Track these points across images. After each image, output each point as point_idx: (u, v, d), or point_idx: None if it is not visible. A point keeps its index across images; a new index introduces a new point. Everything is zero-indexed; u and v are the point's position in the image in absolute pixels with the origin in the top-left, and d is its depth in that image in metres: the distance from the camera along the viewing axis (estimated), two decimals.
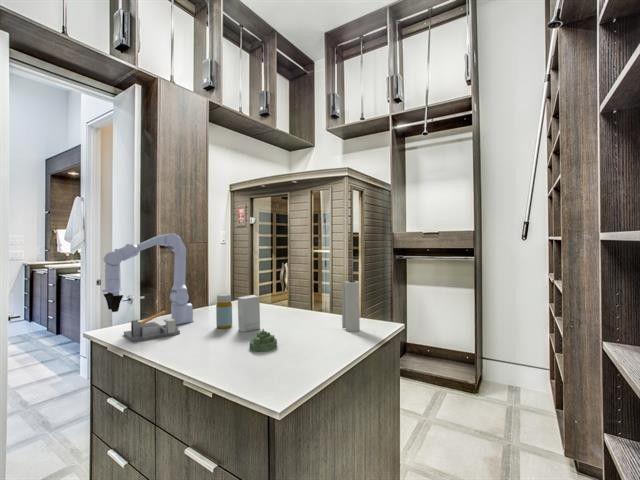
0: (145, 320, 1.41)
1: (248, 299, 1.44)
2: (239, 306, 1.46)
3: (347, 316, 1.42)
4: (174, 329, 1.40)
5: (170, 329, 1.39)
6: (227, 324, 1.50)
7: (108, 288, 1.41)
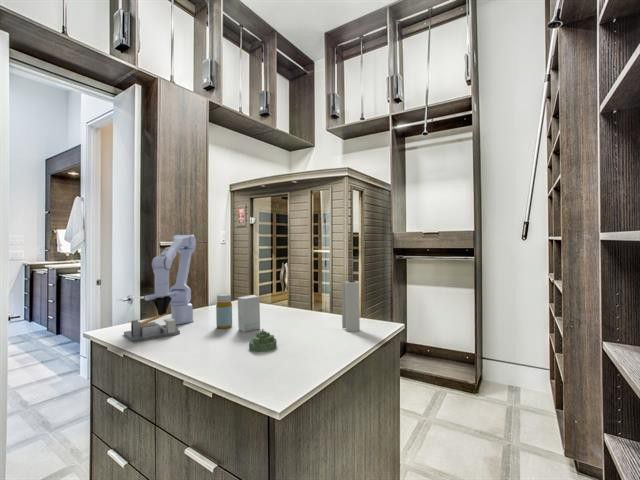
0: (145, 321, 1.41)
1: (248, 299, 1.44)
2: (239, 306, 1.46)
3: (347, 316, 1.42)
4: (174, 329, 1.40)
5: (170, 329, 1.39)
6: (227, 324, 1.50)
7: None
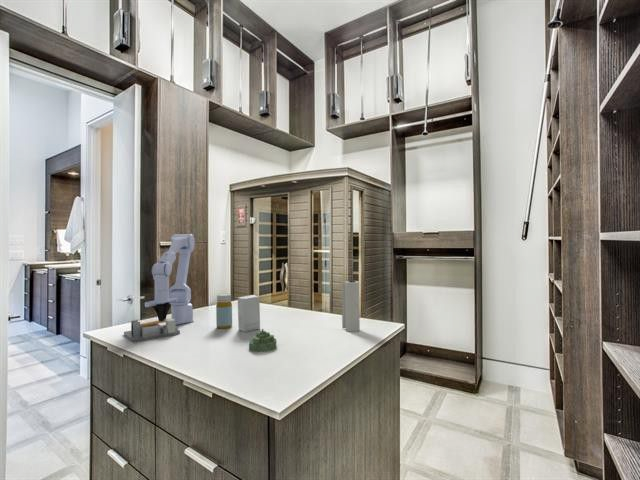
0: (146, 323, 1.41)
1: (248, 299, 1.44)
2: (239, 306, 1.46)
3: (347, 316, 1.42)
4: (174, 329, 1.40)
5: (170, 329, 1.39)
6: (227, 324, 1.50)
7: None
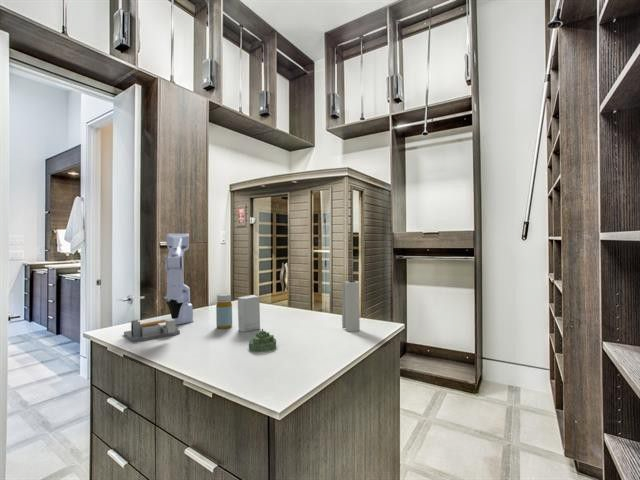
0: (146, 323, 1.41)
1: (248, 299, 1.44)
2: (239, 306, 1.46)
3: (347, 316, 1.42)
4: (174, 329, 1.40)
5: (170, 329, 1.39)
6: (227, 324, 1.50)
7: (171, 295, 1.34)
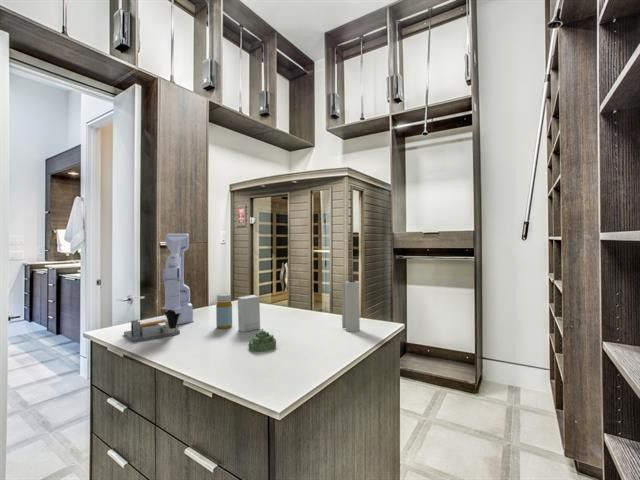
0: (146, 323, 1.41)
1: (248, 299, 1.44)
2: (239, 306, 1.46)
3: (347, 316, 1.42)
4: (174, 329, 1.40)
5: (169, 328, 1.39)
6: (227, 324, 1.50)
7: (169, 305, 1.36)
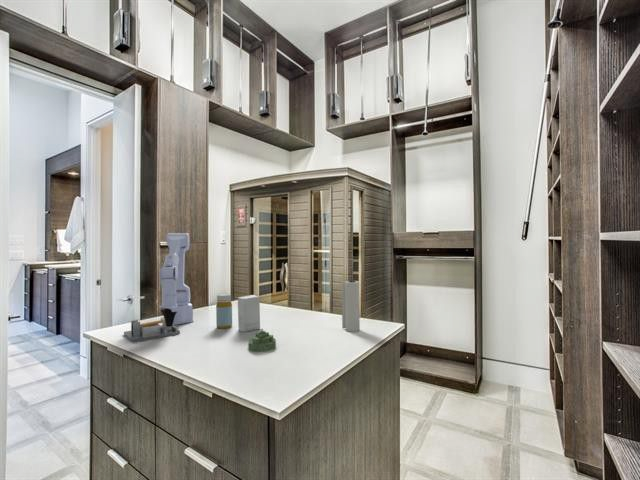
0: (146, 323, 1.41)
1: (248, 299, 1.44)
2: (239, 306, 1.46)
3: (347, 316, 1.42)
4: (170, 327, 1.43)
5: (166, 327, 1.42)
6: (227, 324, 1.50)
7: (165, 304, 1.39)
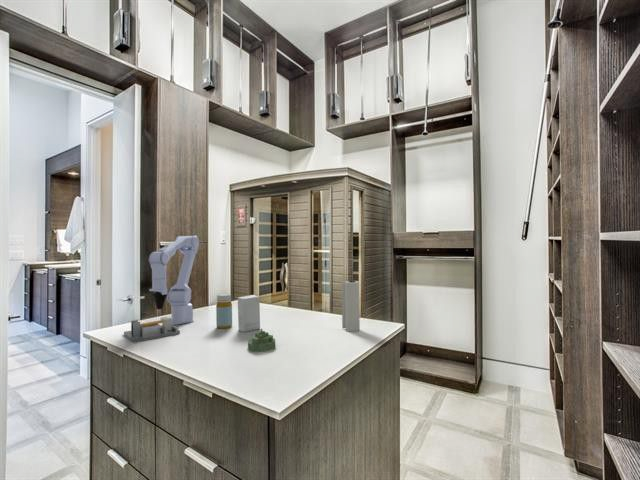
0: (146, 323, 1.41)
1: (248, 299, 1.44)
2: (239, 306, 1.46)
3: (347, 316, 1.42)
4: (170, 327, 1.43)
5: (166, 327, 1.42)
6: (227, 324, 1.50)
7: (156, 287, 1.44)
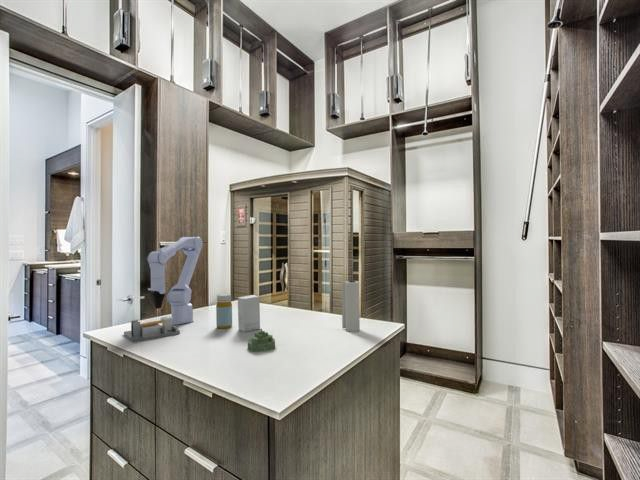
0: (146, 323, 1.41)
1: (248, 299, 1.44)
2: (239, 306, 1.46)
3: (347, 316, 1.42)
4: (170, 327, 1.43)
5: (166, 327, 1.42)
6: (227, 324, 1.50)
7: (154, 286, 1.46)
